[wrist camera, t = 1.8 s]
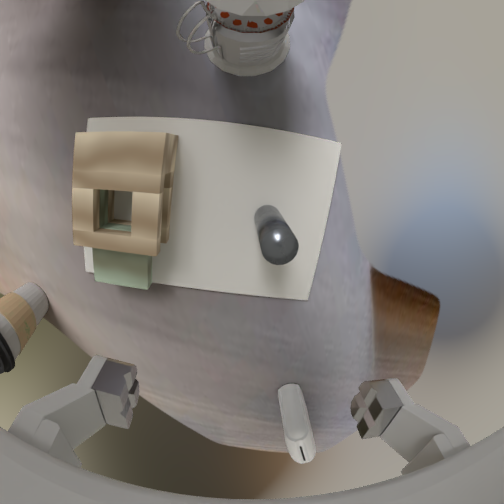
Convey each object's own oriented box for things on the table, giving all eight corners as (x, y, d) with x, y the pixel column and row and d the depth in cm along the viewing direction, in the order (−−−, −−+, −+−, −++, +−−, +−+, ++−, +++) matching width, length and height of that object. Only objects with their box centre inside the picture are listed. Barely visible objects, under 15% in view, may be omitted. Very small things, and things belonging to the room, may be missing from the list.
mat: (90, 118, 26) (88, 118, 26) (340, 143, 29) (341, 143, 29) (87, 270, 33) (85, 271, 33) (306, 298, 36) (307, 300, 35)
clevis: (99, 133, 27) (75, 132, 21) (178, 135, 28) (166, 132, 22) (97, 266, 32) (78, 285, 27) (167, 277, 33) (156, 299, 28)
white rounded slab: (307, 412, 45) (320, 465, 33) (285, 417, 45) (294, 471, 34) (300, 379, 41) (315, 440, 30) (274, 385, 42) (283, 447, 30)
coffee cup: (61, 327, 36) (17, 387, 22) (24, 315, 35) (-21, 365, 21) (50, 276, 33) (-9, 330, 19) (12, 267, 32) (-44, 311, 18)
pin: (256, 203, 31) (264, 226, 21) (282, 206, 31) (302, 232, 22) (252, 228, 32) (258, 262, 22) (278, 232, 32) (294, 266, 23)
